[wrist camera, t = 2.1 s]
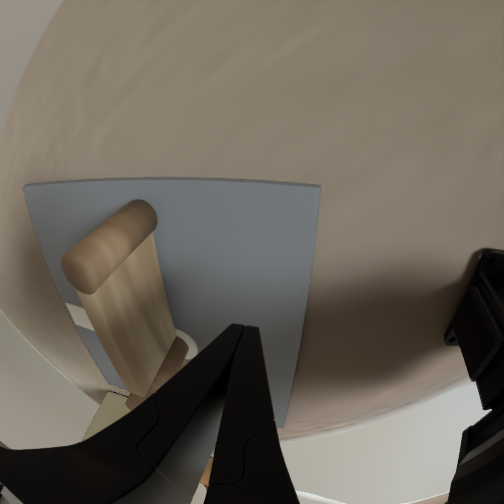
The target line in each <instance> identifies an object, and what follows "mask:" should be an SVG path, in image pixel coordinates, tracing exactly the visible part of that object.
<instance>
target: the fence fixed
mask: <svg viewBox="0 0 504 504" xmlns="http://www.w3.org/2000/svg"><path fill="white" fill-rule="evenodd" d="M188 351H189V347H188V345H187V343H186V342H185V341H184V340H183V339H181V338H180V337H178V336H176V338H175V340H174V341H173V343H172V345H171V347H170V349H169V351H168V353H167V355H166V357H165V359H164V361H163V362H162V364H161V366H160V368H159V370H158V372H157V374H156V376H155V378H154V380H153V382H152V384H151V386H150V388H149V390H148V392H147V394H146V396H145V398H144V397H141V396H138V395H135V394H133V393H130V395H129V397H128V399H127V400H126V402H125V404H126V406H127V407H128V408H129V409H130V410H131V411H132V410H133V409H134V408H135V407H137V406H138V405H139V404H141V403H142V402H143V401H144V400H146V399H147V398H148V397H149V396H150V395H151V394H153V393H155V391H156V390H157V389H159V388H160V387H161V386H162V385H163V384H164V383H165V382H167V381H168V380H169V379H170V378H171V377H172V376H174V375H175V374H176V373H177V372H178V371H179V370H180V369H181V368H183V367H184V366H185V365H186V364H187V360H186V359H185V357H186V355H187V353H188Z"/></svg>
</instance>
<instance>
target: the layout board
mask: <svg viewBox="0 0 504 504" xmlns="http://www.w3.org/2000/svg"><path fill="white" fill-rule="evenodd" d="M320 190H321V185H314V184H304V183H292V182H279V181H264V180H247V179H225V178H188V177H143V178H108V179H87V180H71V181H58V182H46V183H36V184H26V185H24V186H23V192H24V196H25V199H26V203H27V207H28V210H29V214H30V217H31V221H32V224H33V227H34V230H35V233H36V236H37V239H38V242H39V245H40V248H41V251H42V254H43V256H44V259H45V262H46V264H47V267H48V269H49V272H50V274H51V277H52V279H53V281H54V284H55V286H56V288H57V291H58V293H59V295H60V297H61V300H62V302H63V304H64V306H65V308H66V310H67V312H68V314H69V316H70V318H71V320H72V322H73V324H74V326H75V328H76V330H77V332H78V334H79V335H80V337H81V339H82V341H83V343H84V345H85V346H86V348H87V350H88V352H89V353H90V355H91V357H92V358H93V360H94V362H95V363H96V365H97V367H98V368H99V370H100V371H101V373H102V375H103V376H104V378H105V379H106V381H107V382H108V383H109V384H112V385H114V386H117V387H119V388H122V389H125V390H127V388H126V387H125V385H124V383H123V382H122V380H121V378H120V377H119V375H118V373H117V372H116V370H115V368H114V366H113V365H112V363H111V361H110V359H109V357H108V356H107V354H106V352H105V350H104V348H103V346H102V344H101V342H100V340H99V338H98V336H97V334H96V332H95V330H94V328H93V326H92V324H91V322H90V320H89V318H88V316H87V314H86V311H85V309H84V307H83V305H82V302H81V300H80V298H79V295H78V293H77V291H76V289H75V288H74V287H73V286H72V285H71V284H70V282H69V281H68V280H67V278H66V277H65V275H64V273H63V270H62V267H61V258H62V256H63V255H64V254H65V253H66V252H67V251H68V250H70V249H71V248H72V247H73V246H74V245H76V244H77V243H78V242H79V241H80V240H82V239H83V238H84V237H85V236H86V235H88V234H89V233H90V232H91V231H93V230H94V229H95V228H96V227H98V226H99V225H100V224H102V223H103V222H104V221H105V220H107V219H108V218H109V217H111V216H112V215H113V214H115V213H116V212H117V211H119V210H120V209H121V208H123V207H124V206H125V205H127V204H128V203H130V202H131V201H133V200H136V199H141V200H144V201H146V202H148V203H149V204H150V205H151V206H152V207H153V208H154V210H155V212H156V214H157V219H158V223H157V227H156V229H155V230H154V231H153V236H154V241H155V247H156V252H157V257H158V262H159V266H160V271H161V276H162V280H163V285H164V289H165V293H166V297H167V302H168V306H169V310H170V314H171V318H172V321H173V325H174V329H175V333H176V336H178V337H180V338H181V339H183V340H184V341H185V342H186V343H187V345H188V347H189V351H188V353H187V355H186V357H185V359H186V360H187V363H188V362H189V361H191V360H192V359H193V358H194V357H195V356H196V355H197V354H198V353H199V352H201V351H202V350H203V349H204V348H205V347H206V346H207V345H208V344H209V343H211V342H212V341H213V340H214V339H215V338H216V337H217V336H218V335H219V334H220V333H221V332H223V331H224V330H225V329H226V328H227V327H228V326H229V325H230V324H232V323H238V324H244V325H245V326H246V325H251V326H258V327H259V329H260V335H261V340H262V346H263V352H264V358H265V364H266V370H267V376H268V382H269V388H270V393H271V399H272V405H273V411H274V417H275V422H276V427H277V428H283V427H284V423H285V418H286V414H287V409H288V404H289V400H290V395H291V390H292V385H293V380H294V375H295V370H296V365H297V359H298V354H299V348H300V343H301V337H302V331H303V325H304V319H305V312H306V306H307V299H308V293H309V286H310V279H311V271H312V264H313V256H314V248H315V239H316V230H317V221H318V212H319V201H320ZM127 391H128V390H127Z"/></svg>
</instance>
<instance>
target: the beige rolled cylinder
mask: <svg viewBox="0 0 504 504" xmlns="http://www.w3.org/2000/svg"><path fill="white" fill-rule="evenodd" d="M157 223H158V219H157V214H156V212H155V210H154V208H153V207H152V206H151V205H150V204H149V203H148V202H146V201H144V200H141V199H136V200H133V201H131V202H130V203H128V204H127V205H125V206H124V207H123V208H121V209H120V210H119V211H117V212H116V213H115V214H113V215H112V216H111V217H109V218H108V219H107V220H105V221H104V222H103V223H102V224H100V225H99V226H98V227H96V228H95V229H94V230H93V231H91V232H90V233H89V234H88V235H86V236H85V237H84V238H83V239H82V240H80V241H79V242H78V243H77V244H76V245H74V246H73V247H72V248H71V249H70V250H68V251H67V252H66V253H65V254H64V255H63V256H62V258H61V267H62V270H63V273H64V275H65V277H66V278H67V280H68V281H69V282H70V284H71V285H72V286H73V287H74V288H75V289H76V291H77V293H78V295H79V298H80V300H81V302H82V305H83V307H84V309H85V311H86V314H87V316H88V318H89V320H90V322H91V324H92V326H93V328H94V330H95V332H96V334H97V336H98V338H99V340H100V342H101V344H102V346H103V348H104V350H105V352H106V354H107V356H108V357H109V359H110V361H111V363H112V365H113V366H114V368H115V370H116V372H117V373H118V375H119V377H120V378H121V380H122V382H123V383H124V385H125V387H126V388H127V390H128V391H129V392H130V393H133V394H135V395H138V396H141V397H144V398H145V396H146V394H147V392H148V390H149V388H150V386H151V384H152V382H153V380H154V378H155V376H156V374H157V372H158V370H159V368H160V366H161V364H162V362H163V361H164V359H165V357H166V355H167V353H168V351H169V349H170V347H171V345H172V343H173V341H174V340H175V338H176V333H175V329H174V325H173V321H172V318H171V314H170V310H169V306H168V302H167V297H166V293H165V289H164V285H163V280H162V276H161V271H160V266H159V262H158V257H157V252H156V247H155V241H154V236H153V231H154V230H155V229H156V227H157Z"/></svg>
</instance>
